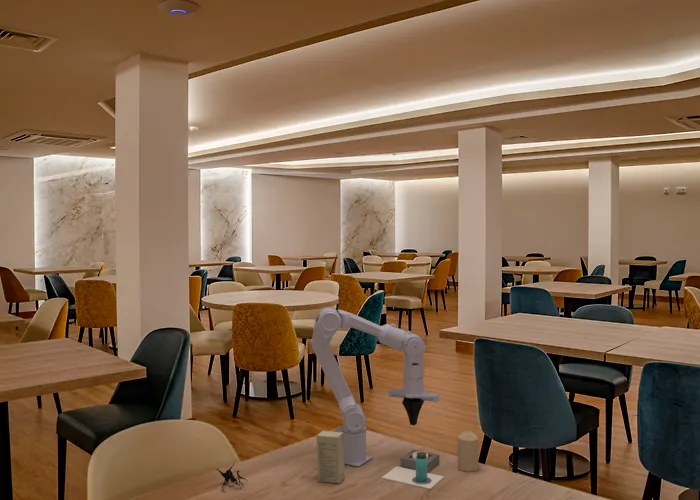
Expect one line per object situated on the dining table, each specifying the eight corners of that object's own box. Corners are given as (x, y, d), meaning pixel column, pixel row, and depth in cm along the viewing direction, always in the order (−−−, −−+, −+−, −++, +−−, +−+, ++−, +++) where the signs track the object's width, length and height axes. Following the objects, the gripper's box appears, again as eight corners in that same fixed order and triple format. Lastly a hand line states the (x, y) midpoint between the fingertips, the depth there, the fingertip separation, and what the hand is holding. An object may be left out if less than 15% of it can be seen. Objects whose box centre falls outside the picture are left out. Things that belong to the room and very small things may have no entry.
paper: (381, 478, 165) (381, 476, 165) (396, 467, 173) (396, 465, 173) (430, 489, 158) (430, 488, 158) (444, 477, 165) (444, 476, 165)
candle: (478, 472, 169) (478, 436, 169) (457, 471, 170) (457, 434, 170) (478, 465, 174) (478, 429, 174) (457, 463, 175) (458, 428, 175)
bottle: (413, 480, 162) (413, 454, 162) (418, 477, 165) (418, 450, 165) (424, 483, 161) (424, 456, 160) (429, 479, 163) (429, 452, 163)
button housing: (400, 467, 173) (400, 458, 173) (413, 458, 179) (413, 449, 179) (427, 473, 168) (427, 463, 168) (439, 463, 175) (439, 454, 175)
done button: (409, 465, 173) (409, 455, 173) (416, 460, 177) (416, 450, 177) (424, 468, 171) (424, 457, 171) (430, 463, 175) (430, 453, 175)
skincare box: (345, 478, 165) (345, 432, 165) (339, 484, 161) (339, 437, 161) (322, 475, 167) (322, 429, 167) (316, 481, 163) (316, 434, 163)
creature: (253, 489, 161) (235, 475, 166) (256, 470, 160) (237, 456, 165) (228, 499, 155) (210, 484, 160) (231, 479, 154) (212, 464, 159)
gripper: (384, 377, 178) (384, 424, 179) (433, 382, 172) (433, 431, 172) (393, 372, 185) (393, 418, 185) (441, 377, 178) (441, 424, 179)
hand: (413, 424), depth 179 cm, fingers closed
